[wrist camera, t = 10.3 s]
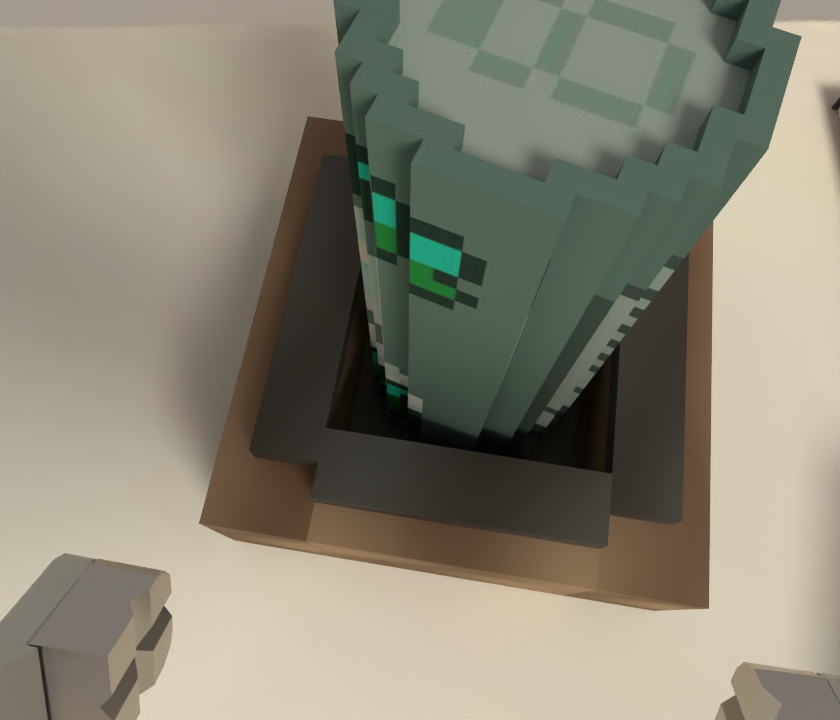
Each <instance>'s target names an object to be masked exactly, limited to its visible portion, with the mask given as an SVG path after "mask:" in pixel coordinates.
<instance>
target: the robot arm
mask: <svg viewBox="0 0 840 720" xmlns="http://www.w3.org/2000/svg"><path fill="white" fill-rule="evenodd" d="M170 594H171V580H170V574H169V573H167V572H166V571H162V570H157V569H151V568H146V567H140V566H135V565H130V564H124V563H119V562H113V561H108V560H102V559H92V558H87V557H82V556H77V555H71V554H66V553H65V554H63V555H61V556H59V557H57V558H55V559H54V560H53V561H52V562H51V563H50V565H49V566H48V567H47V568H46V569H45V570H44V572H43V573H42V574H41V575H40V576H39V577H38V579H37V580H36V581H35V582H34V583H33V584H32V586H31V587H30V588H29V589H28V590H27V591H26V593H25V594H24V595H23V596H22V597H21V598H20V600H19V601H18V602H17V603H16V604H15V605H14V607H13V608H12V609H11V610H10V611H9V612H8V614H7V615H6V616H5V617H4V618H3V619H2V621H1V622H0V720H136V719H137V717H138V715H139V713H140V703H139V694H141V693H143V692H144V691H146V690H147V689H149V688H150V687H152V686H153V685H155V683H156V681H157V679H158V677H159V675H160V673H161V671H162V669H163V667H164V664H165V660H166V657H167V654H168V651H169V648H170V644H171V637H172V615H171V614H170V613H169V611H168V610H167V609H166V608H165V606H164V605H165V603H166V601H167V599H168V598H169V596H170ZM731 683H732V686H733V689H734V691H735V694H736V695H735V696H733V697H731V698H730V699H728V700H726V701H725V702H723V703H721V705H720V707H719V710H718V713H717V715H716V718H715V720H840V676H836V675H829V674H822V673H813V672H808V671H801V670H794V669H787V668H781V667H774V666H767V665H760V664H754V663H747V662H743V663H742V664H741V665H740V666H739V667H737V668H736V671H735V673H734V675H733V677H732V679H731Z"/></svg>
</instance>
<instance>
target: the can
mask: <svg viewBox="0 0 840 720" xmlns="http://www.w3.org/2000/svg"><path fill="white" fill-rule="evenodd" d="M780 1H781V0H334V7H335V17H336V26H337V34H338V43H339V46H338V47H337V49H336V51H335V57H336V65H337V74H338V82H339V90H340V98H341V106H342V114H343V122H344V130H345V138H346V146H347V154H348V162H349V170H350V178H351V186H352V194H353V203H354V211H355V219H356V227H357V235H358V243H359V251H360V259H361V267H362V275H363V283H364V291H365V299H366V307H367V315H368V324H369V332H370V340H371V348H372V356H373V364H374V372H375V380H376V388H377V395H378V396H380V397H382V401H383V410H384V411H385V412H388V413H389V423H390V427H393V428H395V429H397V430H400V431H402V432H405V433H407V434H408V440H407V441H411V442H418V443H424V444H430V445H436V446H443V447H449V448H455V449H461V450H467V451H474V452H480V453H486V454H492V455H499V456H505V457H511V458H513V456H514V455H515V453H517V454H520V455H522V456H526V455H527V453H528V452H529V451H530V449H531V448H532V446H533V445H534V444H535V442H536V441H537V440H538V438H539V437H541V438H543V439H546V437H547V436H548V435H549V433H550V432H551V431H552V429H553V428H554V427H555V426H556V424H557V423H558V422H559V420H560V419H561V418H562V416H563V415H564V414H565V413H566V411H567V410H568V409H569V407H570V406H571V405H572V403H573V402H574V401H575V400H576V398H577V397H578V396H579V394H580V393H581V392H582V390H583V389H584V388H585V387H586V385H587V384H588V383H589V381H590V380H591V379H592V377H593V376H594V375H595V374H596V372H597V371H598V370H599V368H600V367H601V366H602V364H603V363H604V362H605V361H606V359H607V358H608V357H609V355H610V354H611V353H612V351H613V350H614V349H615V348H616V346H617V345H618V344H619V342H620V341H621V340H622V338H623V337H624V336H625V335H626V333H627V332H628V331H629V329H630V328H631V327H632V325H633V324H634V323H635V322H636V320H637V319H638V318H639V316H640V315H641V314H642V312H643V311H644V310H645V309H646V307H647V306H648V305H649V303H650V302H651V301H652V299H653V298H654V297H655V296H656V294H657V293H658V292H659V290H660V289H661V288H662V286H663V285H664V284H665V283H666V281H667V280H668V279H669V277H670V276H671V275H672V273H673V272H674V271H675V270H676V268H677V267H678V266H679V264H680V263H681V262H682V260H683V259H684V258H685V257H686V255H687V254H688V253H689V251H690V250H691V249H692V247H693V246H694V245H695V244H696V242H697V241H698V240H699V238H700V237H701V236H702V234H703V233H704V232H705V231H706V229H707V228H708V227H709V225H710V224H711V223H712V221H713V220H714V219H715V218H716V216H717V215H718V214H719V212H720V211H721V210H722V208H723V207H724V206H725V205H726V203H727V202H728V201H729V199H730V198H731V197H732V195H733V194H734V193H735V192H736V190H737V189H738V188H739V186H740V185H741V184H742V182H743V181H744V180H745V179H746V177H747V176H748V175H749V173H750V172H751V171H752V169H753V168H754V167H755V166H756V164H757V163H758V162H759V160H760V159H761V158H762V156H763V155H764V154H765V153H766V151H767V150H768V148H769V144H770V141H771V138H772V134H773V131H774V127H775V124H776V121H777V117H778V114H779V111H780V107H781V104H782V101H783V97H784V94H785V90H786V87H787V84H788V80H789V77H790V74H791V70H792V67H793V63H794V60H795V57H796V53H797V50H798V47H799V43H800V40H801V36H798V35H795V34H792V33H789V32H786V31H783V30H780V29H777V28H773V23H774V20H775V17H776V14H777V11H778V8H779V4H780Z"/></svg>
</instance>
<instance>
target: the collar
mask: <svg viewBox="0 0 840 720" xmlns="http://www.w3.org/2000/svg"><path fill="white" fill-rule="evenodd" d="M712 275H713V221H712V223H711V224H710V225H709V227H708V228H707V229H706V231H705V232H704V233H703V234H702V236H701V237H700V238H699V240H698V241H697V242H696V244H695V245H694V246H693V247H692V249H691V250H690V251H689V253H688V254H687V255H686V257H685V258H684V259H683V260H682V262H681V263H680V264H679V266H678V267H677V268H676V270H675V271H674V272H673V273H672V275H671V276H670V277H669V279H668V280H667V281H666V283H665V284H664V285H663V286H662V288H661V289H660V290H659V292H658V293H657V294H656V296H655V297H654V298H653V299H652V301H651V302H650V303H649V305H648V306H647V307H646V309H645V310H644V311H643V312H642V314H641V315H640V316H639V318H638V319H637V320H636V322H635V323H634V324H633V325H632V327H631V328H630V329H629V331H628V332H627V333H626V335H625V336H624V337H623V338H622V340H621V341H620V342H619V344H618V345H617V346H616V348H615V349H614V350H613V351H612V353H611V354H610V355H609V357H608V358H607V359H606V361H605V362H604V363H603V364H602V366H601V367H600V368H599V370H598V371H597V372H596V374H595V375H594V376H593V377H592V379H591V380H590V381H589V383H588V384H587V385H586V387H585V388H584V389H583V390H582V392H581V393H580V394H579V402H578V415H577V427H576V439H575V451H574V463H573V467H567V466H561V465H555V464H548V463H542V462H536V461H530V460H524V459H517V458H511V457H505V456H499V455H492V454H486V453H480V452H474V451H467V450H461V449H455V448H449V447H443V446H436V445H430V444H424V443H418V442H411V441H405V440H399V439H393V438H387V437H380V436H374V435H368V434H362V433H355V432H349V428H350V423H351V418H352V413H353V408H354V403H355V398H356V393H357V388H358V383H359V378H360V373H361V368H362V363H363V358H364V353H365V348H366V343H367V338H368V333H369V324H368V315H367V307H366V299H365V291H364V283H363V275H362V267H361V259H360V251H359V243H358V235H357V227H356V219H355V211H354V203H353V194H352V186H351V178H350V170H349V162H348V154H347V146H346V138H345V130H344V122H343V121H336V120H329V119H322V118H315V117H308V118H307V121H306V125H305V129H304V133H303V136H302V140H301V144H300V148H299V151H298V155H297V159H296V163H295V166H294V170H293V174H292V178H291V181H290V185H289V189H288V193H287V196H286V200H285V204H284V208H283V211H282V215H281V219H280V222H279V226H278V230H277V234H276V237H275V241H274V245H273V249H272V252H271V256H270V260H269V264H268V267H267V271H266V275H265V279H264V282H263V286H262V290H261V294H260V297H259V301H258V305H257V308H256V312H255V316H254V320H253V323H252V327H251V331H250V335H249V338H248V342H247V346H246V350H245V353H244V357H243V361H242V365H241V368H240V372H239V376H238V380H237V383H236V387H235V391H234V395H233V398H232V402H231V406H230V409H229V413H228V417H227V421H226V424H225V428H224V432H223V436H222V439H221V443H220V447H219V451H218V454H217V458H216V462H215V466H214V469H213V473H212V477H211V481H210V484H209V488H208V492H207V496H206V499H205V503H204V507H203V510H202V514H201V518H200V522H199V524H201V525H203V526H206V527H208V528H210V529H212V530H214V531H216V532H218V533H221V534H223V535H225V536H227V537H229V538H231V539H233V540H236V541H242V542H248V543H254V544H260V545H266V546H272V547H278V548H284V549H290V550H296V551H302V552H308V553H314V554H320V555H326V556H332V557H337V558H343V559H349V560H355V561H361V562H367V563H373V564H379V565H385V566H391V567H397V568H403V569H409V570H415V571H421V572H427V573H433V574H439V575H445V576H451V577H457V578H463V579H469V580H475V581H481V582H487V583H493V584H499V585H504V586H510V587H516V588H522V589H528V590H534V591H540V592H546V593H552V594H558V595H564V596H570V597H576V598H582V599H588V600H594V601H600V602H606V603H612V604H618V605H624V606H630V607H636V608H642V609H648V610H654V611H659V610H685V609H709V546H710V456H711V366H712Z"/></svg>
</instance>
